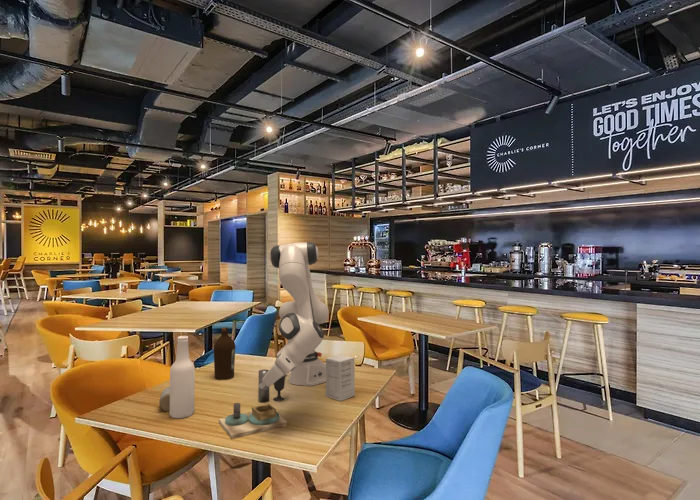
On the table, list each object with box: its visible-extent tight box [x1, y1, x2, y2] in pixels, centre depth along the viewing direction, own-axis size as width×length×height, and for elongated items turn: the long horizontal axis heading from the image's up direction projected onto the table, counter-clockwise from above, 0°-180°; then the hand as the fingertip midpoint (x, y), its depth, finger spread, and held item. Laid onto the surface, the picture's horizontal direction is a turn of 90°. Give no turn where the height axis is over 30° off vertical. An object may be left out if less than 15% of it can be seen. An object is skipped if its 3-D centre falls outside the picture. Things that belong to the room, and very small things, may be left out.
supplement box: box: [325, 354, 356, 402], centre depth 173 cm, size 10×9×17 cm
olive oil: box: [213, 326, 236, 381], centre depth 200 cm, size 11×11×25 cm
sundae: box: [273, 374, 288, 402], centre depth 169 cm, size 7×7×15 cm
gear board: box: [218, 402, 288, 440], centre depth 144 cm, size 20×16×7 cm
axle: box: [257, 369, 271, 404], centre depth 145 cm, size 4×4×11 cm
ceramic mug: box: [158, 386, 170, 412], centre depth 159 cm, size 11×8×8 cm
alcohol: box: [169, 335, 196, 420], centre depth 153 cm, size 9×9×30 cm
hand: (262, 384), depth 145 cm, fingers closed on axle, 4 cm apart
